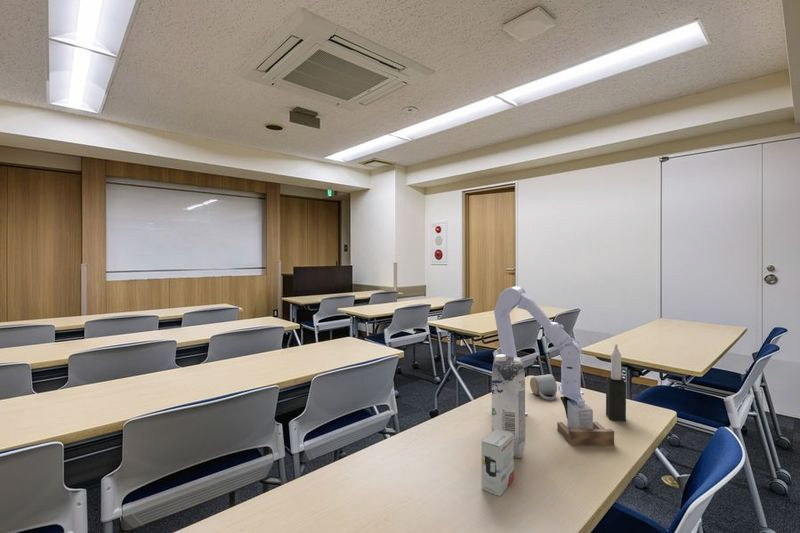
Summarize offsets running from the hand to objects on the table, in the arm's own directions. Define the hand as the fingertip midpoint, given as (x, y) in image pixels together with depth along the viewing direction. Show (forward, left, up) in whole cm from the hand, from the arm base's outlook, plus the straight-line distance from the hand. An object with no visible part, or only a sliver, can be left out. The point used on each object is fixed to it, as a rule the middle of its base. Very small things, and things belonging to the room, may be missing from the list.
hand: (570, 419), depth 122 cm
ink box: (-32, -32, -1) cm, 45 cm away
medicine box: (0, -6, -1) cm, 6 cm away
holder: (0, -9, -1) cm, 9 cm away
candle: (+17, +4, -1) cm, 17 cm away
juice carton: (-25, -16, -1) cm, 30 cm away
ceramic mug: (+1, +24, -2) cm, 24 cm away
